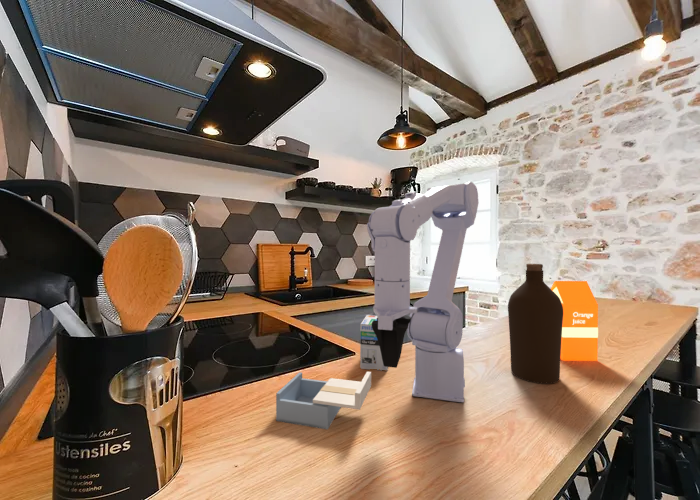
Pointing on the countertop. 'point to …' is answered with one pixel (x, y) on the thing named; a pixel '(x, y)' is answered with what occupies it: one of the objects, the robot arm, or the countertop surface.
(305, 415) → the blue grey box
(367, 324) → the light bulb box
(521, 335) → the olive oil
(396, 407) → the countertop surface
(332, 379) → the lid
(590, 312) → the orange juice
